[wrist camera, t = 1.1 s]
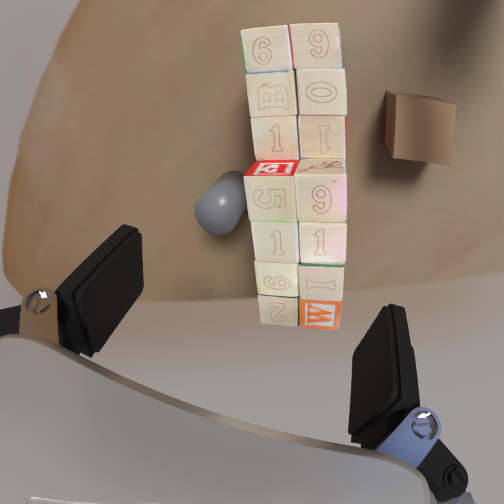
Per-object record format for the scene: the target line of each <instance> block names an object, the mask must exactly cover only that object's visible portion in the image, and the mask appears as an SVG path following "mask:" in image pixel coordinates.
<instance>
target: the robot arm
mask: <svg viewBox="0 0 504 504" xmlns="http://www.w3.org/2000/svg"><path fill="white" fill-rule="evenodd" d="M143 287H144V281H143V261H142V235H141V233H139V231H138V229H137V228H135V227H132V226H129V225H126V224H123V225H122V226H121V227H119V228H118V229H117V230H116V231H115V232H114V233H113V234H112V235H111V236H110V237H109V238H107V239H106V240H105V241H104V242H103V243H102V244H101V245H100V246H99V247H98V248H97V249H96V250H95V251H94V252H93V253H92V254H91V255H90V256H89V257H88V258H86V259H85V260H84V261H83V262H82V263H81V264H80V265H79V266H78V267H77V268H76V269H75V270H74V271H73V272H72V273H71V274H70V275H69V276H68V277H67V278H66V280H65V281H64V282H63V283H62V284H61V285H60V286H59V287H58V289H57V290H56V291H55V292H54V291H53V290H51V289H50V288H46V287H39V288H35V289H33V290H31V291H29V292H28V293H27V294H26V295H25V296H24V298H23V300H22V303H21V305H19V306H15V307H10V308H5V309H1V310H0V504H475V502H474V500H473V498H472V495H471V493H470V492H468V493H467V492H466V488H467V484H468V475H467V472H466V470H465V468H464V467H463V465H462V464H461V463H460V462H459V461H458V460H457V459H456V457H455V456H454V455H453V454H452V453H451V452H450V451H449V449H448V448H447V447H446V446H445V445H444V444H443V443H442V442H441V440H440V439H439V436H440V434H441V424H440V420H439V418H438V416H437V415H436V414H435V413H434V412H433V411H432V410H430V409H428V408H425V407H420V399H419V389H418V379H417V371H416V363H415V355H414V349H413V347H412V346H411V343H410V336H409V330H408V323H407V318H406V312H405V308H404V307H401V306H397V305H394V304H389V305H388V306H387V307H386V306H384V307H383V308H382V309H381V311H380V313H379V314H378V316H377V317H376V319H375V320H374V322H373V324H372V325H371V327H370V328H369V330H368V331H367V333H366V334H365V336H364V338H363V339H362V340H361V342H360V344H359V345H358V346H357V348H356V349H355V351H354V354H353V359H352V381H351V399H350V400H351V401H350V414H349V426H348V432H349V434H351V435H352V436H351V442H352V443H359V444H361V448H359V447H354V446H348V445H343V444H337V443H332V442H327V441H322V440H317V439H312V438H308V437H303V436H298V435H293V434H289V433H285V432H281V431H277V430H273V429H269V428H265V427H262V426H258V425H254V424H251V423H247V422H244V421H240V420H237V419H234V418H230V417H227V416H224V415H221V414H218V413H215V412H212V411H209V410H206V409H203V408H200V407H197V406H194V405H192V404H189V403H186V402H183V401H181V400H178V399H176V398H173V397H170V396H168V395H165V394H163V393H160V392H158V391H155V390H153V389H151V388H148V387H146V386H143V385H141V384H139V383H136V382H134V381H132V380H130V379H127V378H125V377H123V376H121V375H119V374H117V373H114V372H112V371H110V370H108V369H106V368H104V367H102V366H100V365H98V364H96V363H94V362H92V361H90V360H87V359H86V358H84V357H82V356H80V355H79V354H80V353H83V354H85V355H87V356H88V357H90V358H91V357H92V356H93V354H94V353H95V352H99V351H100V350H101V348H102V347H103V346H104V344H105V343H106V341H107V340H108V339H109V337H110V336H111V334H112V333H113V331H114V330H115V329H116V327H117V326H118V324H119V323H120V321H121V320H122V319H123V317H124V316H125V315H126V313H127V312H128V310H129V309H130V308H131V306H132V305H133V304H134V302H135V301H136V300H137V298H138V297H139V296H140V294H141V293H142V290H143Z"/></svg>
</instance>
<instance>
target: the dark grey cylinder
mask: <svg viewBox="0 0 504 504" xmlns="http://www.w3.org/2000/svg"><path fill="white" fill-rule="evenodd" d="M244 175H245V174H244V173H242V172H238V171H230V172H227V173H225V174H224V175H222V176H221V177H220V178H219V179H218V180H217V181H216V182H215V183H214V184H213V185H212V186H211V187H210V188H209V189H208V190H207V191H206V192H205V193H204V194H203V195H202V196H201V197H200V198H199V199H198V201H197V202H196V205H195V217H196V219H197V221H198V223H199V224H200V225H201V227H202V228H204V229H205V230H206V231H208V232H210V233H213V234H217V235H222V234H227V233H229V232H230V231H232V230H233V229H234V228H235V226H236V224H237V223H238V221H239V220H240V218H241V216H242V215H243V213H244V212H245V210H246V209H247V200H246V193H245V186H244V178H243V176H244Z"/></svg>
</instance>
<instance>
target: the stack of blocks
mask: <svg viewBox="0 0 504 504" xmlns="http://www.w3.org/2000/svg"><path fill="white" fill-rule="evenodd" d="M241 40H242V48H243V56H244V63H245V69H246V75H245V76H246V86H247V94H248V102H249V110H250V116H251V130H252V138H253V145H254V153H255V158H256V160H257V161H256V162H254V163H253V164H252V166H251V167H250V168H249V170H248V171H247V172H246V173H245V175H244V176H243V178H244V186H245V193H246V200H247V208H248V216H249V220H250V221H251V231H252V239H253V246H254V255H255V259H254V266H255V275H256V283H257V291H258V305H259V315H260V322H261V323H262V324H271V325H281V326H289V327H298V326H300V327H304V328H314V329H332V330H337V329H339V323H340V313H341V301H342V298H343V280H344V264H345V263H346V247H347V170H346V115H347V90H346V75H345V69H344V68H343V65H342V47H341V34H340V29H339V24H338V23H308V24H290V25H284V26H270V27H261V28H253V29H245V30H241Z"/></svg>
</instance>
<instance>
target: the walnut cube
mask: <svg viewBox="0 0 504 504" xmlns="http://www.w3.org/2000/svg"><path fill="white" fill-rule="evenodd" d="M456 106H457V105H456V104H453V103H450V102H447V101H444V100H441V99H438V98H432V97H426V96H420V95H413V94H406V93H398V92H390V91H386V126H385V145H386V147H387V148H388V150H389V152H390V153H391V155H392V157H393V158H397V159H406V160H414V161H422V162H430V163H437V164H444V165H450V166H451V160H452V152H453V143H454V133H455V121H456Z"/></svg>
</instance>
